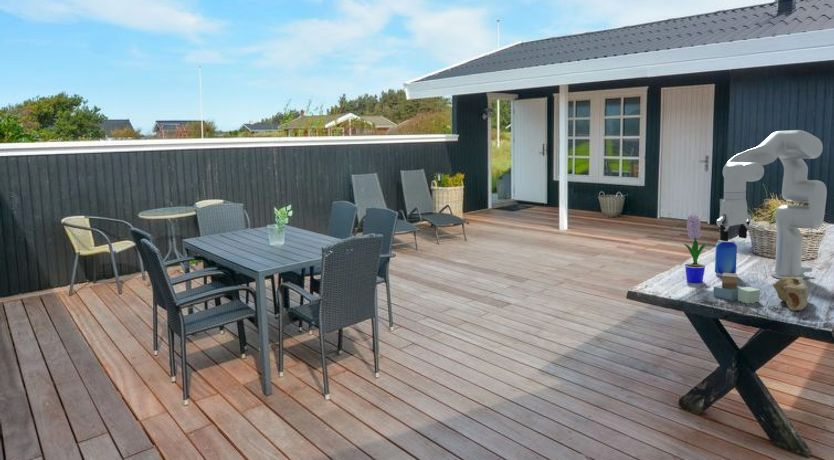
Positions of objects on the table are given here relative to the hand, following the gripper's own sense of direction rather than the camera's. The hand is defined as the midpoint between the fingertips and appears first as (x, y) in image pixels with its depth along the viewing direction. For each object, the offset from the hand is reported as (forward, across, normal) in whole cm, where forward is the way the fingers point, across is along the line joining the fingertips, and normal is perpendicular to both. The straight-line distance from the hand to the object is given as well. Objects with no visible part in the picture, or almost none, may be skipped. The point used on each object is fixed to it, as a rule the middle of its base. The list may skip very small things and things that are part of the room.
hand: (733, 239), depth 222 cm
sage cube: (+23, +2, +10) cm, 25 cm away
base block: (+23, +2, +1) cm, 23 cm away
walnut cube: (+19, +2, +1) cm, 19 cm away
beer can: (+23, -24, -24) cm, 41 cm away
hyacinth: (+23, -5, -22) cm, 32 cm away
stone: (+23, -7, +19) cm, 31 cm away
